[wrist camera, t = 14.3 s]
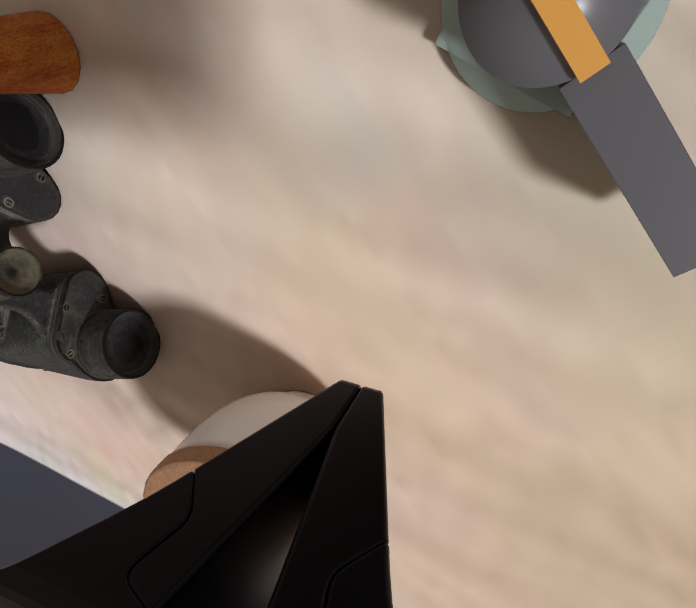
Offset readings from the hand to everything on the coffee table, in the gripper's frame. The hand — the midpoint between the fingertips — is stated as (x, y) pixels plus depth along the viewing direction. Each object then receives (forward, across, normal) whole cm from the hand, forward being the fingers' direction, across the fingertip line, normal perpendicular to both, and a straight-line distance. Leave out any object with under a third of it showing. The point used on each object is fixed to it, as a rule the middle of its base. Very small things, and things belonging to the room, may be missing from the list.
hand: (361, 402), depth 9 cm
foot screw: (+12, -2, -7) cm, 14 cm away
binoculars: (+13, +23, +7) cm, 27 cm away
